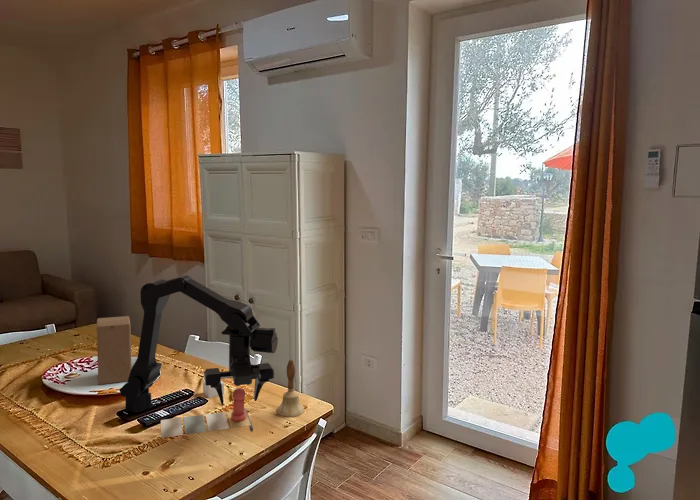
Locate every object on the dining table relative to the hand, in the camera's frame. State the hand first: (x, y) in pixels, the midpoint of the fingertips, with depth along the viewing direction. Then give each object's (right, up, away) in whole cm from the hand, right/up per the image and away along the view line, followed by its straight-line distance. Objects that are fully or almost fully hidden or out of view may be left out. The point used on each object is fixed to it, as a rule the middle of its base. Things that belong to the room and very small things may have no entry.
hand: (238, 402), depth 141 cm
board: (-9, -6, -2) cm, 11 cm away
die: (-12, -3, +17) cm, 21 cm away
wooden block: (-48, 0, +28) cm, 56 cm away
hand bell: (+13, -6, +9) cm, 17 cm away
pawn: (0, -5, +1) cm, 5 cm away
